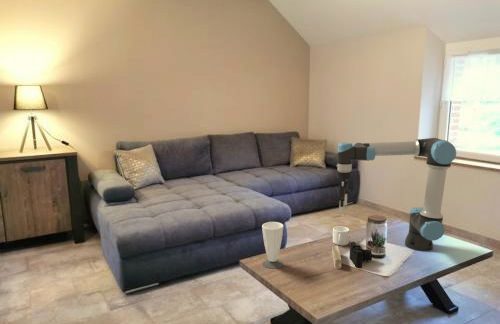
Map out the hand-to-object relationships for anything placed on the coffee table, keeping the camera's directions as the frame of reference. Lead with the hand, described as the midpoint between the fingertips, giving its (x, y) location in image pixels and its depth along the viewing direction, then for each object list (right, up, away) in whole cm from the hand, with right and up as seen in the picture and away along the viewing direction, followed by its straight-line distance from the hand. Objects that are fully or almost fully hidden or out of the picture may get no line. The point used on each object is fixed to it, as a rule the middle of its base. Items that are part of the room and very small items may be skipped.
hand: (343, 208), depth 207 cm
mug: (+3, -24, +17) cm, 29 cm away
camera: (+8, -28, -7) cm, 30 cm away
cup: (-40, -29, -8) cm, 50 cm away
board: (-5, -28, -6) cm, 29 cm away
